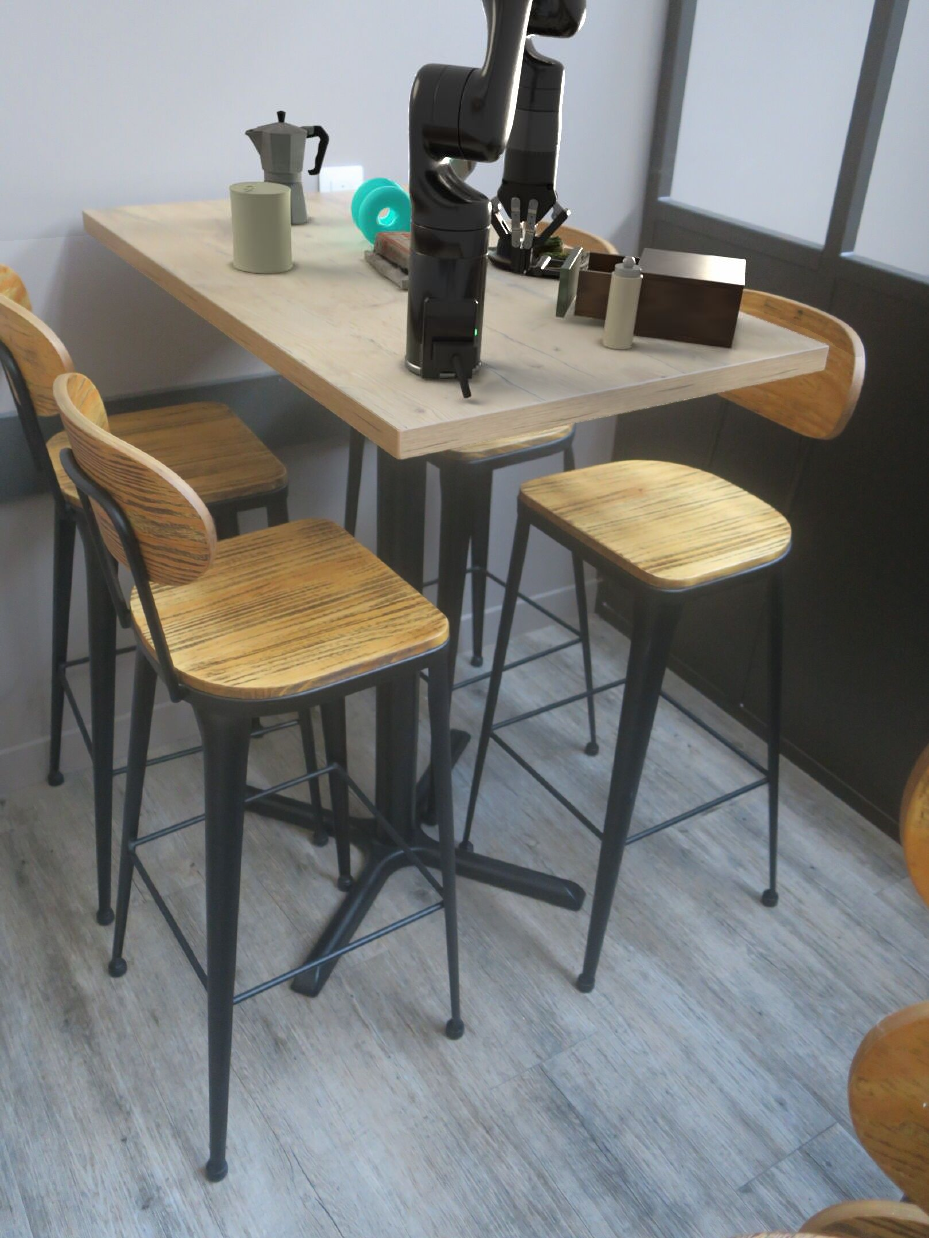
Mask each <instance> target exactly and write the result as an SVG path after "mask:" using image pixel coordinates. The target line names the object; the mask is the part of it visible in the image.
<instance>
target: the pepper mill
mask: <svg viewBox="0 0 929 1238" xmlns="http://www.w3.org/2000/svg"><path fill="white" fill-rule="evenodd" d="M631 256H632V255H627V257H625V258H624V260H623V263H620V264H616V265H615V271H614V272H612V276H611V283H610V290H609V297H608V305H607V312H606V319H605V320H604V327H603V334H602V342H601V344H602V346H604V347H605V348H609V349H613V350H629V349H631V348H632V346H633V340H634V335H633V334H634V328H635V321H636V315H637V308H638V302H639V295H640V289H641V282H642V275H641V267H640V266H638V265H635V260H634V258H633V257H631Z"/></svg>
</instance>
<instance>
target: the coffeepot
mask: <svg viewBox="0 0 929 1238" xmlns="http://www.w3.org/2000/svg"><path fill="white" fill-rule="evenodd" d="M286 114H287V112H286V111H284V110H278V111H276V116H277V121H275V122H271V123H268V124H263V125H258V126H256V127H255V128H248V129H247V130H246V131H245V132H244V135H245V136H246V137H248V138H249V140H250V141H251V143H252V145H253V147H254V148H255V150H256V152H257V153H258V155H259V159H260V165H261V170H262V171H263V182H270V183H277V184H282V185H285V186H288V187H289V188H290V189H291V192H290V212H291V226H293V225H300V224H304V223H308V221H309V213H308V207H307V201H306V195H305V189H304V184H303V183H304V182H303V179H302V178H303V176H302V173H303V169H304V161H305V154H306V153H305V152H306V144H307V140H308V139H313V138H317V137H318V138H319V141H318V145H317V152H316V155H315V157H314V167H313V168H311V169H307V173H308V175H309V176H317V175H320V173H321V171H322V167H323V163H324V159H325V156H326V153H327V149H328V146H329V144H330V136H329V134H328V132H327V131H326V130H325V129H324V128H323V126H322V125H317V124H316V125H301V126H298V125H295V124H291V123H288V122H286Z"/></svg>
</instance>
